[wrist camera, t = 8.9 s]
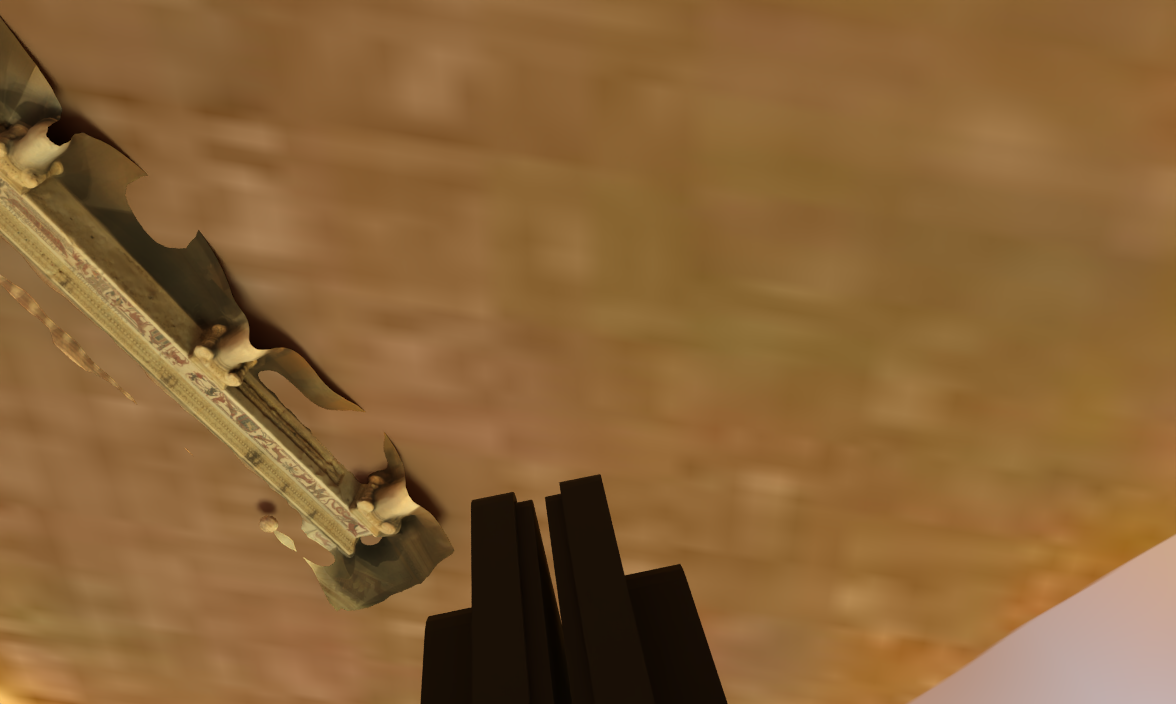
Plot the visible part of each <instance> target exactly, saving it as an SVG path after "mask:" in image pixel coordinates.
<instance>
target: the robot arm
mask: <svg viewBox="0 0 1176 704" xmlns="http://www.w3.org/2000/svg"><path fill="white" fill-rule="evenodd" d="M559 483H560V490H561V494H557V495H552V496H548V497H545V501H546V509H547V516H548V524H549V531H550V539H551V546H552V554H553V561H554V569H555V576H556V584H557V591H558V599H559V606H560V614H561V619H560V615H559V611H558V607H557V602H556V598H555V594H554V589H553V585H552V581H551V576H550V572H549V568H548V564H547V559H546V555H545V551H544V546H543V542H542V538H541V534H540V529H539V525H538V521H537V516H536V512H535V508H534V504H533V501H532V500H528V501H523V502H518V503H517V500H516V496H515V493H514V492H510V493H505V494H500V495H496V496H491V497H486V498H481V499H476V500H472V502H471V573H472V607H471V608H467V609H462V610H457V611H452V612H448V613H443V614H438V615H433V616H429V617H428V619H427V621H426V627H425V638H424V655H423V672H422V689H421V704H727V701H726V698H725V694H724V691H723V688H722V685H721V682H720V679H719V676H718V673H717V670H716V667H715V664H714V661H713V658H712V655H711V652H710V649H709V646H708V643H707V640H706V637H705V634H704V631H703V628H702V625H701V622H700V619H699V616H698V613H697V609H696V606H695V603H694V600H693V597H692V594H691V591H690V588H689V585H688V582H687V579H686V576H685V574H684V571H683V568H682V566H681V565H680V564H678V565H673V566H668V567H663V568H659V569H654V570H649V571H644V572H639V573H635V574H630V575H624V571H623V567H622V563H621V558H620V554H619V550H618V546H617V542H616V537H615V533H614V529H613V525H612V521H611V516H610V512H609V508H608V504H607V500H606V495H605V491H604V487H603V483H602V479H601V475H600V474H599V475H594V476H589V477H584V478H579V479H574V480H569V481H564V482H559ZM561 621H562V624H561Z"/></svg>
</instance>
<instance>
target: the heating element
mask: <svg viewBox="0 0 1176 704" xmlns="http://www.w3.org/2000/svg"><path fill="white" fill-rule="evenodd" d="M61 113H62V107H61V105H60V103H59V101H58V100H57V98H56V96H55V94H54V92H53V90H52V88H51V87H50V85H49V83H48V82H47V80H46V79H45V77H44V76H43V74H42V73H41V71H40V70H39V68H38V67H37V65H36V64H35V63H34V62H33V60H32V59H31V58H30V56H29V55H28V54H27V52H26V51H25V50H24V48H23V47H22V46H21V44H20V43H19V41H18V40H17V39H16V37H15V36H14V35H13V33H12V32H11V31H10V30H9V28H8V27H7V26H6V24H5V23H4V22H3V20H2V19H1V18H0V236H1V237H2V238H3V239H4V240H5V241H6V242H7V243H9V244H10V245H11V246H12V247H13V248H14V249H15V250H17V251H18V252H19V253H20V254H21V255H22V256H23V257H24V259H25V260H26V261H27V263H28V264H29V265H30V267H31V268H32V269H33V270H34V271H35V272H36V273H37V274H38V276H39V277H40V278H41V279H42V280H43V281H44V282H45V283H46V284H47V285H48V286H49V287H51V288H52V289H53V290H55V291H56V292H58V293H60V294H61V295H62V296H64V297H65V298H66V299H67V300H68V301H69V302H70V303H71V304H73V305H74V306H75V307H76V308H77V309H78V310H79V311H81V312H82V313H83V314H84V315H85V316H86V317H88V318H89V319H90V320H91V321H92V322H93V323H94V324H95V325H96V326H98V327H99V328H100V329H102V330H103V331H105V332H106V333H107V334H108V335H109V336H110V337H111V338H112V339H113V340H114V342H115V343H116V345H117V346H118V347H120V348H121V349H122V350H124V351H125V352H126V353H127V354H128V355H129V356H130V357H131V358H132V359H134V360H135V361H136V362H137V363H138V364H139V365H140V367H141V368H142V369H143V370H144V371H145V373H146V374H147V376H148V377H149V378H150V379H151V380H152V381H153V382H154V383H155V384H156V385H158V386H159V387H160V388H161V389H162V390H163V391H164V392H165V393H166V394H168V395H169V396H170V397H171V398H173V399H174V400H175V401H176V402H177V403H178V404H179V405H180V406H181V408H183V409H184V410H185V411H187V412H188V413H189V414H191V415H192V416H193V417H194V418H196V419H197V420H198V421H199V422H200V423H201V424H202V425H204V426H205V427H206V428H207V429H208V430H209V431H210V432H211V433H212V434H214V435H215V436H216V437H217V438H218V439H219V440H221V441H222V442H224V443H225V444H226V445H227V446H228V447H229V448H230V449H231V450H232V451H233V453H234V454H235V456H236V457H237V458H238V459H239V460H240V461H241V462H242V463H243V464H244V465H245V466H246V467H247V468H248V469H249V470H250V471H252V472H253V473H255V474H256V475H257V476H258V477H261V478H262V479H263V480H264V481H265V482H266V483H267V484H268V485H269V487H270V488H271V489H272V490H273V491H275V492H277V493H278V494H280V495H281V496H282V497H284V498H285V499H286V500H287V502H288V505H289V506H291V507H292V508H293V509H296V510H297V511H298V513H300V515H301V517H302V530H303V531H304V533H306V534H307V536H308V537H309V538H311V539H312V540H314V541H316V542H317V543H319V544H320V545H322V546H323V547H324V548H325V549H327V550H328V551H329V552H331V553H332V554H333V555H334V558H335V562H334V563H333V564H332V565H330V566H319V565H316V564H314V563H312V562H310V561H309V560H307V559H305V558H304V557H303V558H304V559H305V560H306V561H307V563H308V564H309V565H310V566H311V567H312V569H313V571H314V573H315V574H316V577H317V579H318V581H319V583H320V585H321V587H322V589H323V591H324V593H325V595H326V597H327V599H328V601H329V602H330V604H331V605H332V606H333V607H334V608H335V609H336V610H337V611H339V610H340V609H344V610H347V611H351V610H359V609H363V608H368V607H371V606H373V605H375V604H377V603H380V602H382V601H384V600H385V599H387V598H388V597H389V596H391V595H393V594H396V593H398V592H402V591H403V590H406V589H408V588H410V587H413V586H414V585H416V584H421V583H422V582H423V581H424V580H425V579H426V577H428V576H429V575H430V573H431V572H432V570H433V569H434V568H435V566H436V565H437V564H438V563H439V562H441V561H442V560H443V559H445V558H446V557H448V556H450V555H451V554H453V552H454V549H453V547H452V545H451V543H450V541H449V539H448V538H447V536H446V534H445V532H444V531H443V529H442V527H441V526H440V524H439V523H438V522H437V520H436V519H435V518H434V516H433V515H432V514H431V513H429V512H428V511H427V510H425V509H424V508H422V507H421V506H419V505H417V504H416V503H414V502H413V501H412V499H411V498H410V496H409V495H408V492H407V490H406V480H405V471H404V467H403V463H402V461H401V459H400V457H399V455H398V453H397V451H396V449H395V447H394V446H393V444H392V443H391V441H390V440H389V438H388V437H387V435H386V434H385V432H384V436H385V439H384V452H385V455H386V458H387V461H388V468H387V469H386V470H381V471H377V472H375V473H373V474H371V475H370V476H369V479H368V480H369V481H368V483H369V484H361V483H359V482H358V481H357V480H356V479H355V477H354V475H353V474H352V473H351V472H348V471H347V470H346V469H345V467H344V466H343V465H342V464H340V463H339V462H337V460H336V459H334V456H333V455H332V454H331V453H330V452H329V451H328V450H327V449H326V448H325V447H324V446H323V445H322V444H321V443H320V442H319V441H318V440H317V439H316V438H315V437H314V436H313V435H312V433H311V431H310V429H308V428H307V427H305V426H304V425H303V424H302V423H301V422H300V421H299V420H298V419H297V417H296V416H295V415H294V414H293V413H292V412H291V411H290V410H289V409H287V408H286V407H285V406H284V405H283V404H282V403H281V402H280V401H279V399H278V398H277V396H276V395H275V393H273V392H272V391H271V390H269V389H268V388H267V387H266V386H265V385H264V384H263V383H262V382H261V381H260V379H259V377H258V373H259V372H260V371H264V370H271V371H276V372H278V373H279V374H281V375H283V376H284V377H285V378H286V379H288V380H289V381H290V382H291V383H292V384H293V385H294V386H295V387H297V388H298V389H299V390H300V391H301V392H302V393H303V394H304V395H305V396H306V397H307V398H308V399H309V400H311V401H312V402H313V403H315V404H316V405H318V406H320V407H322V408H325V409H329V410H342V411H343V410H353V411H361V412H365V411H364V410H362V409H361V408H360V407H359V406H357V405H356V404H354V403H352V402H350V401H348V400H346V399H345V398H343V397H341V396H340V395H338V394H336V393H335V392H333V391H332V390H331V389H330V388H329V387H328V386H327V385H326V384H324V383H323V381H322V380H321V379H320V378H319V376H318V375H317V374H316V372H315V371H314V370H313V369H312V367H311V366H310V365H309V364H308V363H307V362H306V360H305V359H304V358H303V357H301V356H300V355H299V354H298V353H296V352H295V351H293V350H291V349H287V348H283V347H281V348H273V349H268V350H258V349H255V348H254V347H253V346H252V345H251V344H250V341H249V324H248V320H247V318H246V316H245V315H244V313H243V312H242V310H241V309H240V308H239V306H238V305H237V303H236V302H235V300H234V298H233V296H232V293H231V290H230V287H229V284H228V281H227V279H226V276H225V274H224V272H223V270H222V268H221V266H220V264H219V262H218V260H217V258H216V256H215V254H214V253H213V251H212V249H211V248H210V246H209V245H208V243H207V241H206V240H205V239H204V237H203V236H202V234H201V233H200V231H199V230H198V232H197V235H196V237H195V238H194V239H193V240H192V241H191V242H190V243H189V245H188V246H187V248H183V249H177V248H168V247H164V246H162V245H160V244H158V243H157V242H155V241H154V240H153V239H152V238H151V237H150V236H149V235H148V234H147V233H146V232H145V230H144V229H143V228H142V226H141V225H140V224H139V222H138V221H137V219H136V217H135V216H134V214H133V212H132V210H131V208H130V207H129V205H128V202H127V199H126V196H125V194H126V187H127V185H128V184H130V183H131V182H133V181H135V180H137V179H138V178H140V177H142V176H148V175H147V174H146V173H145V172H144V171H143V170H142V169H140V168H139V167H138V166H137V165H136V164H134V163H133V162H132V161H131V160H129V159H128V158H127V157H126V156H124V155H123V154H122V153H120V152H119V151H117V150H116V149H115V148H113V147H112V146H110V145H108V144H106V143H104V142H102V141H100V140H98V139H95V138H93V137H91V136H88V135H87V134H85V133H79V134H74V135H73V137H72V138H71V140H70V141H69V142H68V143H64V144H63V145H61V146H58V145H55V144H54V143H52V142H51V141H50V140H49V139H48V137H47V136H46V133H47V131H48V126H50V125H51V124H53V123H54V122H57V121H58V120H60V117H61ZM0 284H1V285H2V286H3V287H4V288H5V289H6V290H7V291H8V292H9V293H10V294H11V295H12V296H13V297H14V298H15V299H16V300H17V301H18V302H19V303H20V304H21V305H22V306H23V307H24V308H25V309H26V310H27V311H28V312H30V313H31V314H32V315H34V316H36V317H37V318H38V319H39V320H41V321H42V322H43V323H44V324H45V325H46V326H47V327H48V328H49V329H50V332H51V335H52V339H53V342H54V344H55V345H56V346H57V347H58V348H59V349H60V350H61V351H62V352H63V353H64V354H66V355H67V356H68V357H69V358H70V359H71V360H73V361H74V362H75V363H76V364H78V365H79V366H80V367H82V368H83V369H84V370H86V371H87V372H94V373H95V374H96V375H97V376H100V377H102V378H103V379H104V380H106V381H108V382H110V383H111V384H113V385H114V386H115V387H116V388H118V389H119V390H120V391H121V392H122V393H123V394H124V395H125V396H126V397H127V398H129V399H130V400H132V401H133V402H135V400H134V399H133V398H132V397H131V396H130V395H129V394H128V393H127V392H125V391H124V390H123V389H122V388H121V387H120V386H119V385H118V384H117V383H116V382H115V381H114V380H113V379H112V378H111V377H110V376H109V375H108V374H107V373H105V372H104V371H103V370H101V369H100V368H99V367H98V366H97V365H96V364H95V363H94V362H93V361H92V360H91V359H90V358H89V357H88V356H87V355H86V353H85V352H84V351H83V349H82V348H81V347H80V346H79V345H78V343H77V342H76V341H75V340H74V339H73V338H72V337H71V336H70V335H68V334H67V333H66V332H64V331H63V330H62V329H61V328H59V327H58V326H57V325H56V324H55V323H54V322H53V321H51V320H50V319H49V318H48V317H47V315H46V314H45V313H44V312H43V310H42V309H41V308H40V307H39V305H38V304H37V303H36V301H35V300H34V299H33V298H32V297H31V296H30V295H29V294H28V293H27V292H26V291H25V290H23V289H21V288H20V287H18V286H16V285H15V284H13V283H12V282H10V281H9V280H7V279H6V278H5V277H3V276H2V275H0ZM135 403H136V402H135ZM136 404H137V403H136ZM137 405H138V404H137ZM185 449H186V448H185ZM186 450H187V449H186ZM187 451H188V450H187ZM188 452H189V451H188ZM189 453H190V452H189ZM190 454H191V453H190ZM191 455H192V454H191ZM259 525H260V528H261V529H262V530H263V531H264V532H266V533H268V532H274V534H275V535H276V537H277V538H278V539H279V540H280V542H281V543H282V544H284V545H285V546H287V547H289V548H290V549H293V550H295V551H296V549H295V546H294V543H293V542H294V541H293V540H291V539H290V538H289V537H288V536H286V535H284V534H282V533H280V532H278V531H276V529H277V528H278V522H277V520H276V519H275V518H274V517H273V516H264V517H262V518H261V519H260V522H259ZM371 535H373V536H374V537H382V539H381V540H380V541H379V543H377V544H375V545H364V544H363V543H362V542H361V540H360V538H361V536H371Z"/></svg>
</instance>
